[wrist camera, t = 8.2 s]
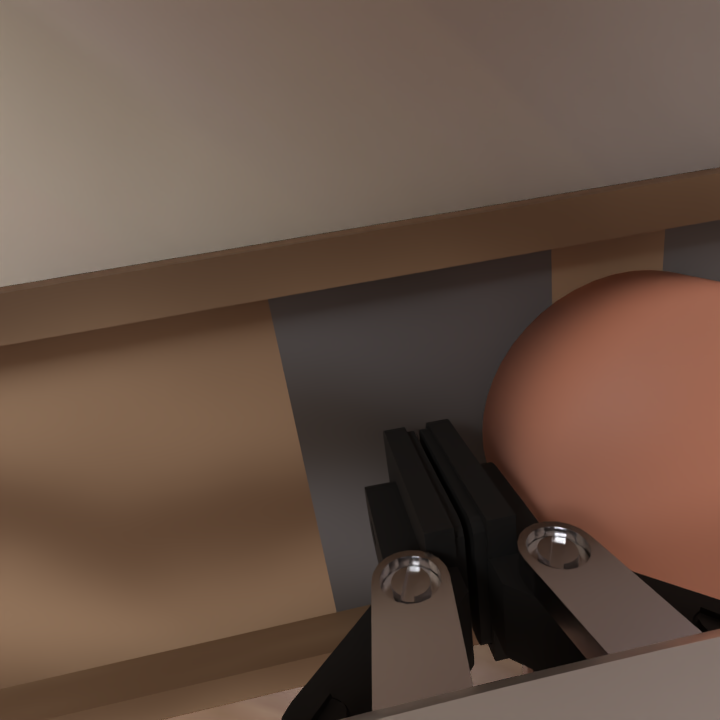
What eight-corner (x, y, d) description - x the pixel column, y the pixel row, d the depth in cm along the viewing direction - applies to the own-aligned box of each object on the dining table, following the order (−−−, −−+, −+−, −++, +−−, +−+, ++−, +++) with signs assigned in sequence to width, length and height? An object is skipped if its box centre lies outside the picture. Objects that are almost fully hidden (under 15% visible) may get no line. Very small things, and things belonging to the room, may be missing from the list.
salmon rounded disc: (463, 312, 12) (527, 356, 9) (759, 237, 12) (928, 252, 9) (499, 559, 15) (559, 663, 11) (741, 491, 15) (865, 573, 12)
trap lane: (-312, 339, 10) (-409, 362, 9) (1394, 54, 13) (1524, 38, 12) (-59, 723, 14) (-98, 782, 13) (1204, 431, 17) (1283, 452, 16)
